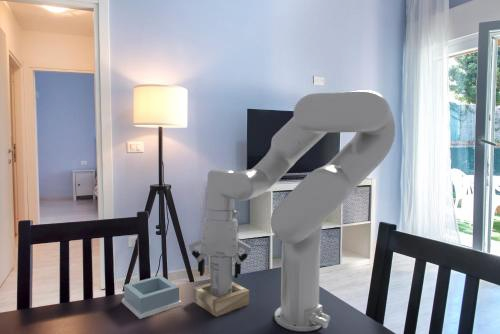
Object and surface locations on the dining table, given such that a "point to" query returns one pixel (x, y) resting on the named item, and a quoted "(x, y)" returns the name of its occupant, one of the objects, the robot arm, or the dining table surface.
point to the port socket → (151, 296)
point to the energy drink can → (220, 275)
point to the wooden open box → (221, 299)
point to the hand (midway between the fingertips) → (219, 275)
